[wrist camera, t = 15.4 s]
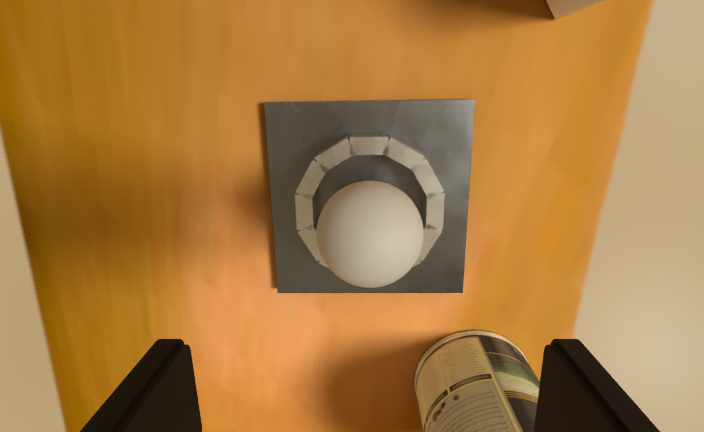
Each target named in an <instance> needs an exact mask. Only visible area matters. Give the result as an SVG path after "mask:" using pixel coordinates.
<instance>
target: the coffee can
mask: <svg viewBox="0 0 704 432" xmlns="http://www.w3.org/2000/svg"><path fill="white" fill-rule="evenodd" d="M414 386H415V392H416V396H417V398H418V404H419V409H420V415H421V421H422V427H423V432H534V425H535V417H536V409H537V402H538V394H539V386H540V382H539V380H538V379H537V377H536V375H535V374H534V372H533V370H532V369H531V367H530V365H529V364H528V361H527V359H526V357H525V355H524V354H523V353H522V351H521V350H520V349H519V348H518V347H517V345H515V344H514V343H513V342H511V341H510V340H509V339H507V338H505V337H503V336H501V335H498V334H496V333H492V332H488V331H481V330H468V331H463V332H458V333H455V334H452V335H449V336H447V337H445V338H443V339H441V340H440V341H438V342H437V343H435V344H434V345H432V346H431V347H430V348H429V349H428V350H427V352H426V353H425V354H424V355H423V357H422V358H421V360H420V362H419V364H418V366H417V369H416V373H415V381H414Z"/></svg>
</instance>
